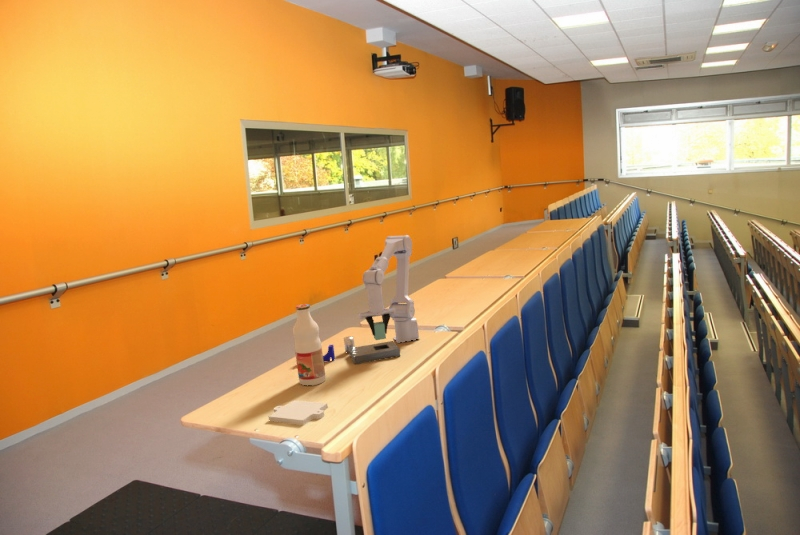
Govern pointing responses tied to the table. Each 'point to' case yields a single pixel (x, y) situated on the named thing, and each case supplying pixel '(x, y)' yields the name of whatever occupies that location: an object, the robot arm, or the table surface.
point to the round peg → (349, 343)
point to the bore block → (374, 352)
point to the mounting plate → (298, 412)
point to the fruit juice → (308, 348)
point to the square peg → (379, 331)
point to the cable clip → (329, 354)
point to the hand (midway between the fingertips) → (379, 334)
